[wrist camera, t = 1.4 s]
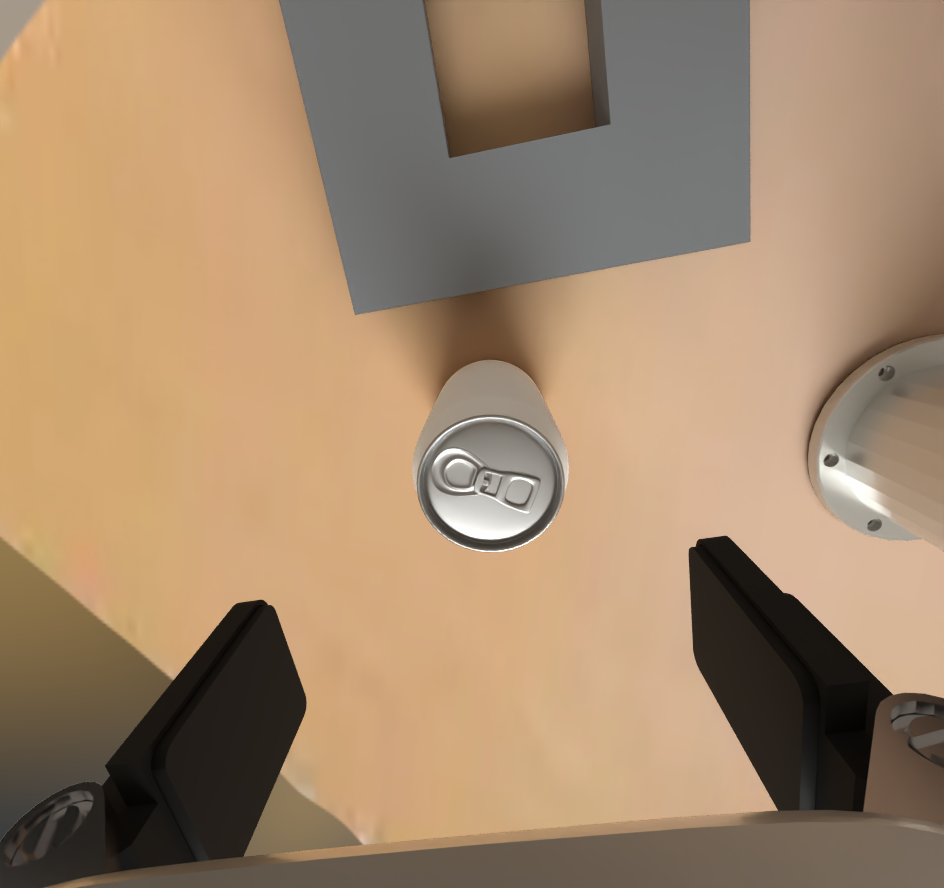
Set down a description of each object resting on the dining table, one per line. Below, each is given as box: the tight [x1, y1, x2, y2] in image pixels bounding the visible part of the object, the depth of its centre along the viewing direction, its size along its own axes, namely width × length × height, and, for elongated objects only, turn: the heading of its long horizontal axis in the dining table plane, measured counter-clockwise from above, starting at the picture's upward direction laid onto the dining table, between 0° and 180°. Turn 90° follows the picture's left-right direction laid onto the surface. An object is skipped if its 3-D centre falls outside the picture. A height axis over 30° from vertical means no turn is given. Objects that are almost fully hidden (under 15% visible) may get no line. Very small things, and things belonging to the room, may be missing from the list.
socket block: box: [279, 0, 750, 315], centre depth 23 cm, size 20×20×3 cm
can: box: [413, 360, 569, 552], centre depth 24 cm, size 6×6×12 cm
